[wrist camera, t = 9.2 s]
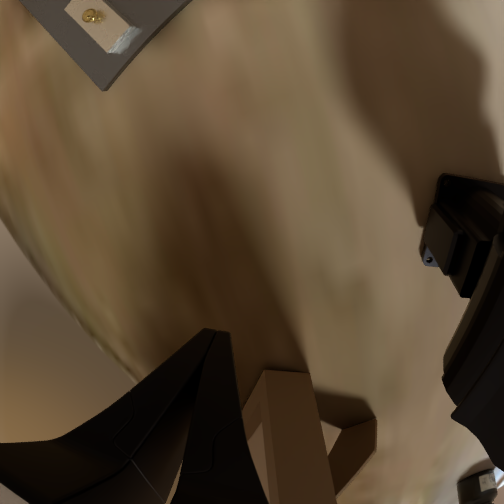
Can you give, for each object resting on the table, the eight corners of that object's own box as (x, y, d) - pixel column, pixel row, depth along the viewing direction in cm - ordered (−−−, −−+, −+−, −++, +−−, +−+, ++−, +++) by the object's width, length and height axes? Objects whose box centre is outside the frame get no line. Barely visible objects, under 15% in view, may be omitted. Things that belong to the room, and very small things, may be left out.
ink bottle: (496, 472, 40) (503, 515, 30) (462, 487, 44) (466, 530, 34) (489, 465, 38) (497, 514, 27) (451, 482, 42) (456, 530, 31)
